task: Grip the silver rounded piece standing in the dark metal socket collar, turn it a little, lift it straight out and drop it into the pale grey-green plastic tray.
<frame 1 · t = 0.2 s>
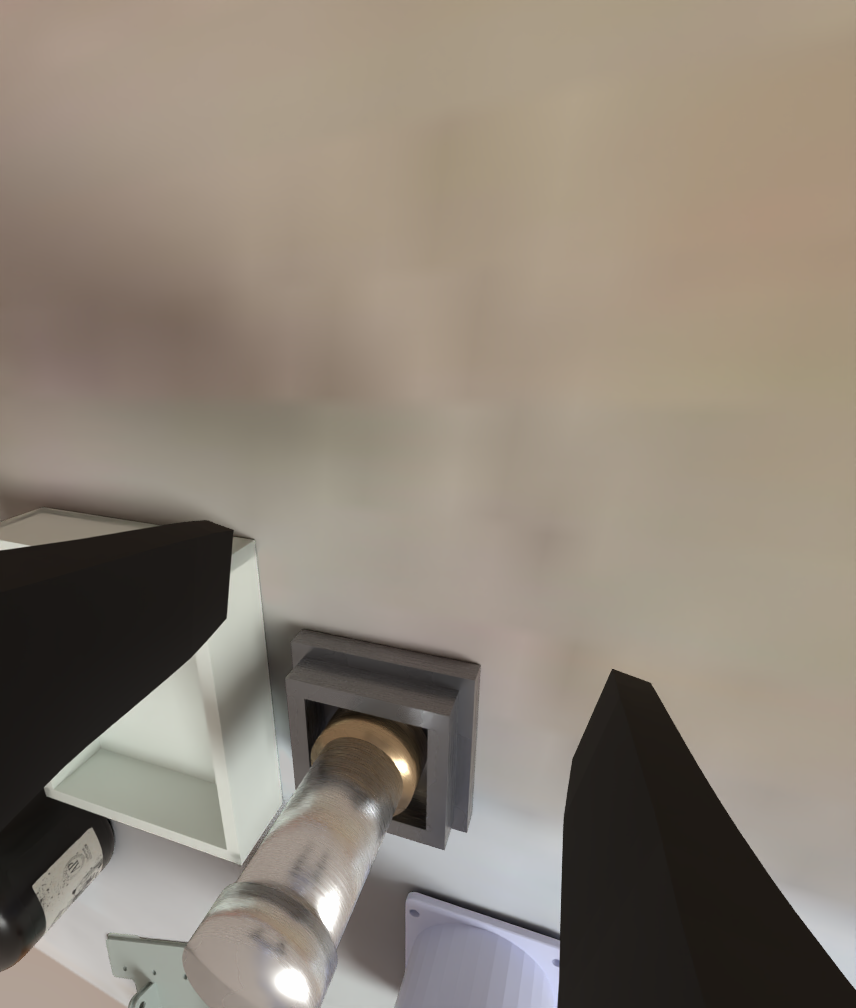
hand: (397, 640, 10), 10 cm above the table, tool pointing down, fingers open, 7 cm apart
socket base: (388, 722, 24), on the table
silver rounded piece: (379, 738, 23), point 1 cm above the table, touching socket base
metal bracket: (226, 996, 38), on the table
ink bottle: (67, 809, 35), on the table
tray: (166, 659, 27), on the table
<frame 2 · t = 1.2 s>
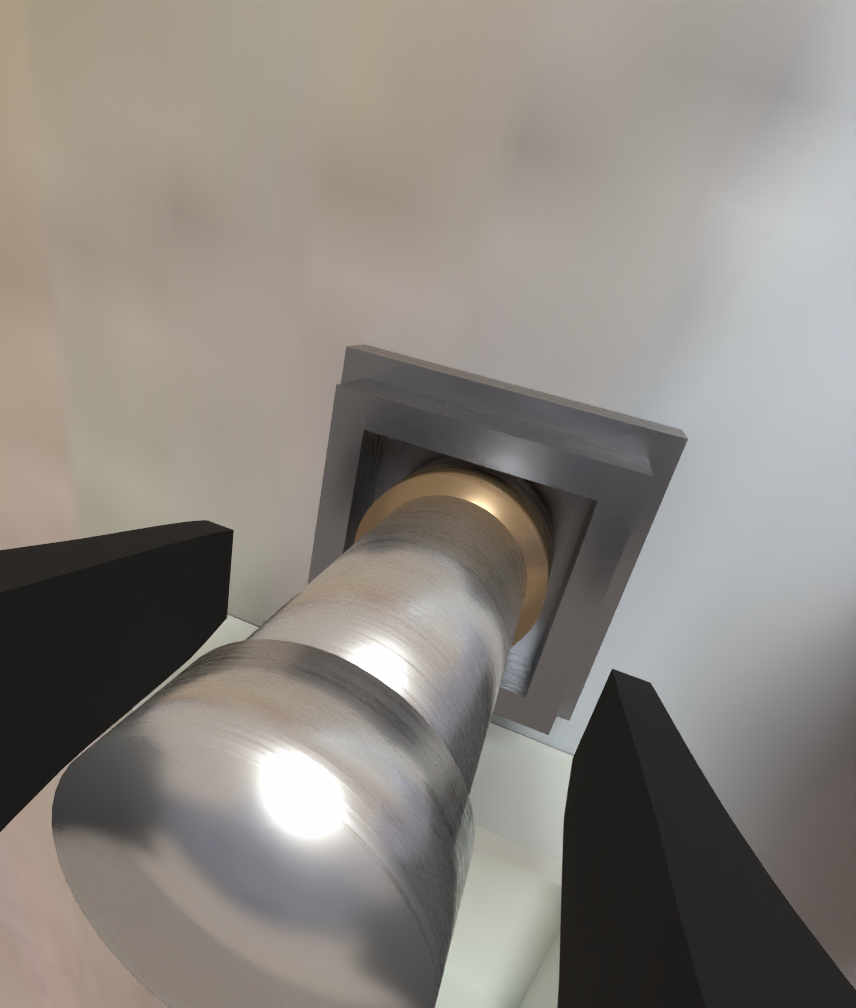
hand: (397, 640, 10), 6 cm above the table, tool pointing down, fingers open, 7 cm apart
socket base: (472, 529, 14), on the table
silver rounded piece: (465, 540, 13), point 1 cm above the table, touching socket base
tray: (379, 816, 19), on the table
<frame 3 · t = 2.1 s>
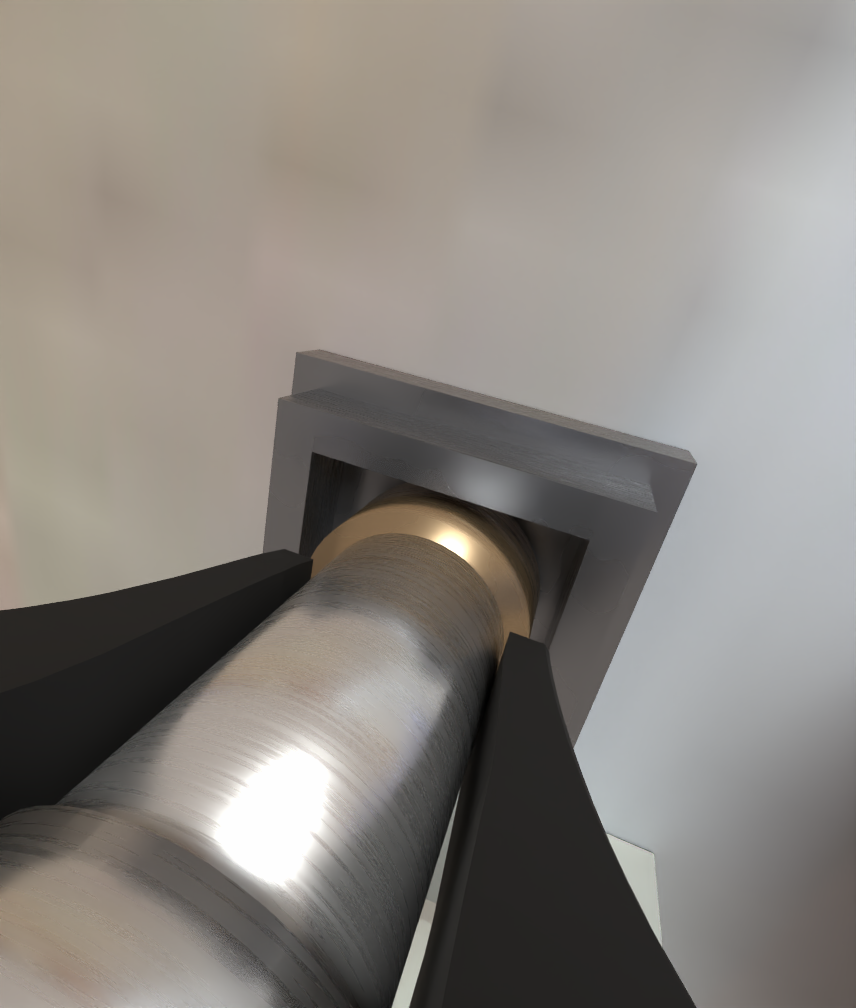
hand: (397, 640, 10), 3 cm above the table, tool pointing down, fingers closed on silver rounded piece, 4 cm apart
socket base: (447, 561, 13), on the table
silver rounded piece: (438, 576, 12), point 1 cm above the table, touching gripper, socket base
tray: (351, 871, 17), on the table
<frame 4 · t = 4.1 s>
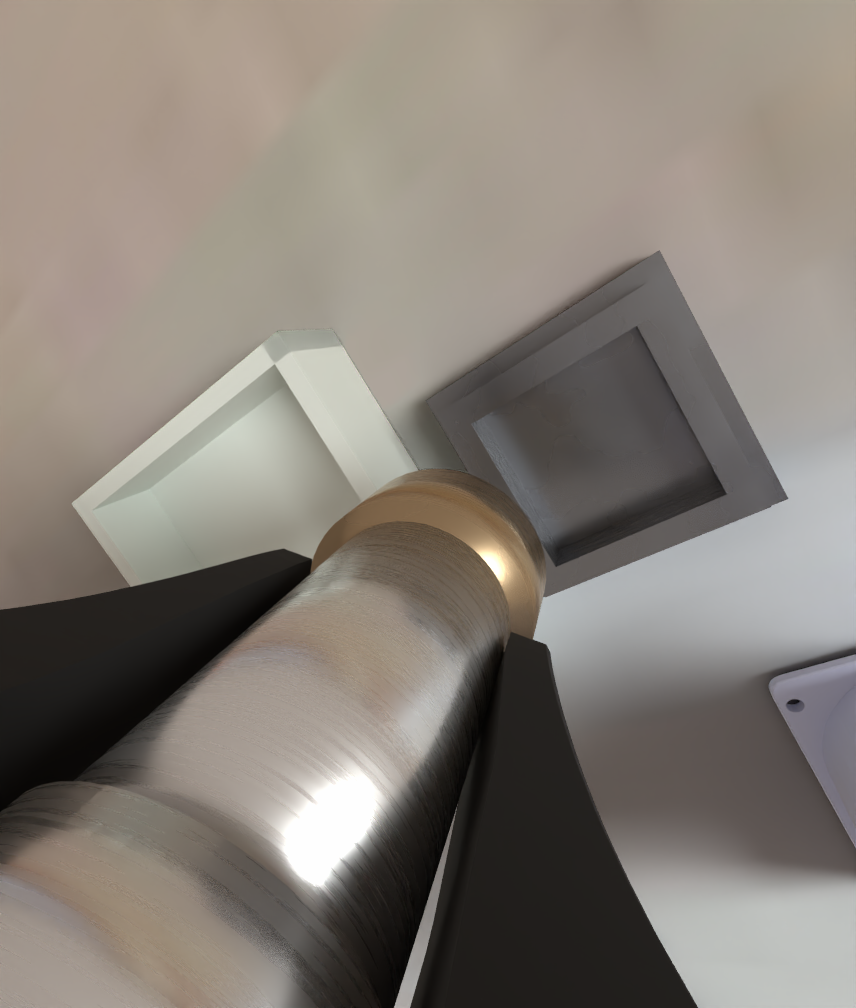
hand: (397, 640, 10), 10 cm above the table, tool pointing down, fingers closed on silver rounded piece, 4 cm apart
socket base: (594, 439, 18), on the table
silver rounded piece: (444, 565, 12), point 8 cm above the table, touching gripper
tray: (325, 566, 22), on the table
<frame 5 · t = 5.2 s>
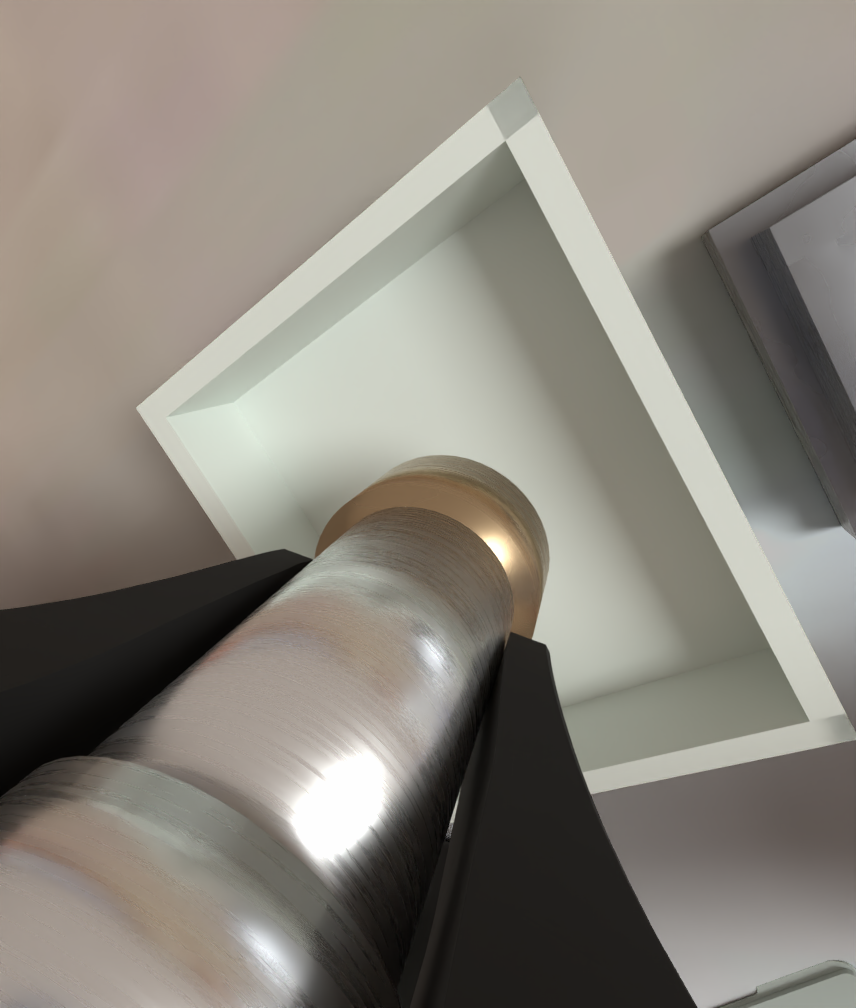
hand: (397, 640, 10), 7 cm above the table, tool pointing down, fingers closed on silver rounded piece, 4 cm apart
silver rounded piece: (447, 551, 12), point 5 cm above the table, touching gripper
ink bottle: (435, 899, 23), on the table
tray: (483, 507, 16), on the table
when the fingers open (5 cm above the table, at t = 6.0 s): silver rounded piece drops 2 cm, resting on tray.
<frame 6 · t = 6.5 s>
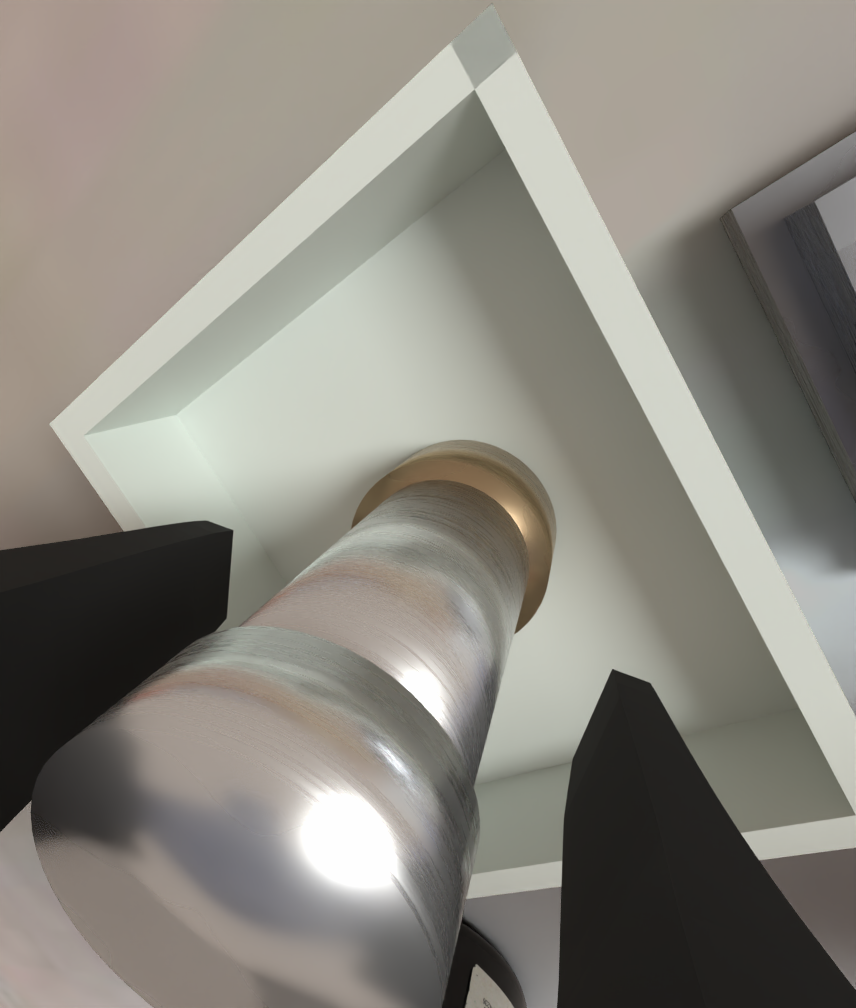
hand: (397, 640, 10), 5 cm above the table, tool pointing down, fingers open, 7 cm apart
silver rounded piece: (465, 527, 13), point 1 cm above the table, touching tray
ink bottle: (416, 961, 21), on the table
tray: (463, 537, 14), on the table
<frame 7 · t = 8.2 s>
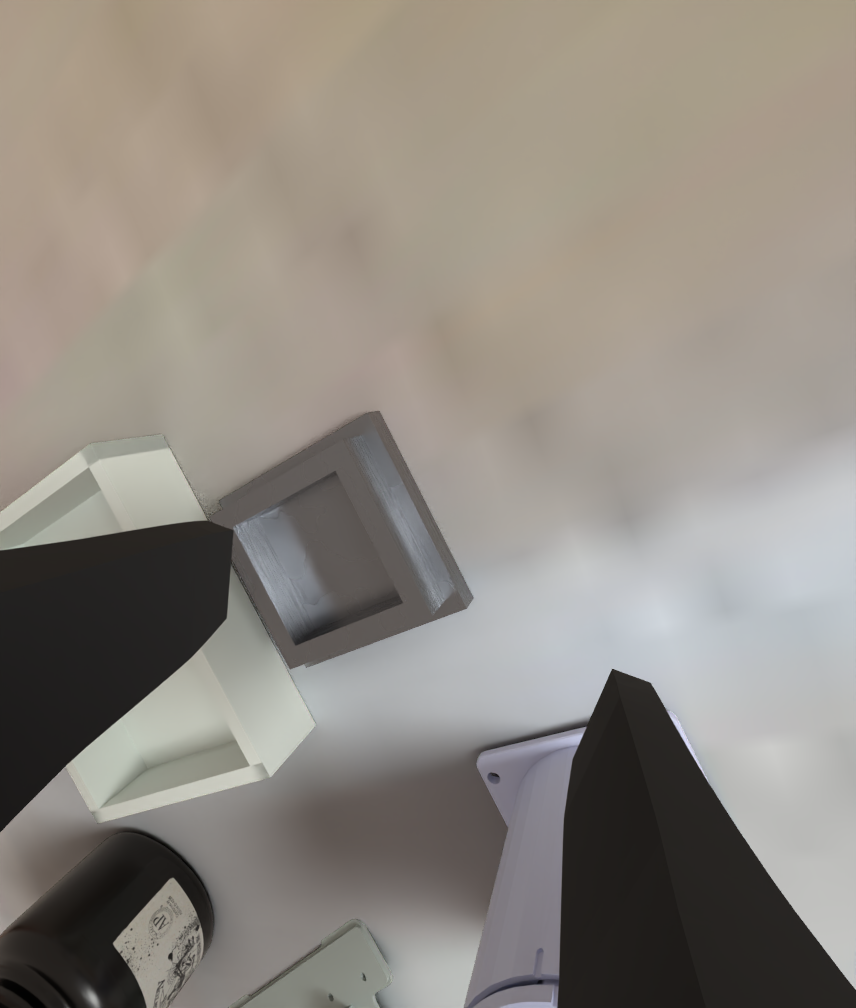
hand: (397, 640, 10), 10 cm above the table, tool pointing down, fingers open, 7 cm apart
socket base: (346, 543, 22), on the table
ink bottle: (161, 888, 32), on the table
tray: (157, 622, 27), on the table
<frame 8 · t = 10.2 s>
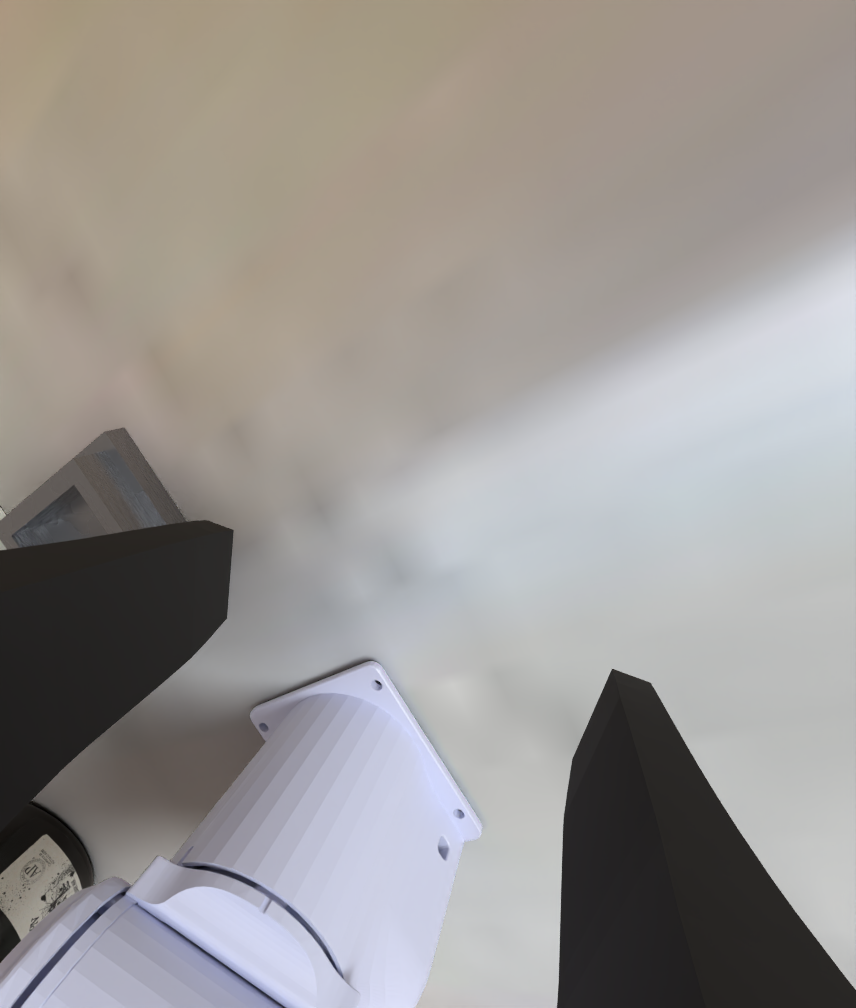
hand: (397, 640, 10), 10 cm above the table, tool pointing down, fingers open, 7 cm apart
socket base: (123, 541, 25), on the table
ink bottle: (49, 845, 36), on the table
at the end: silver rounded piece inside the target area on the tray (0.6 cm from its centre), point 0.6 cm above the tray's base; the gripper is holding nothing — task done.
